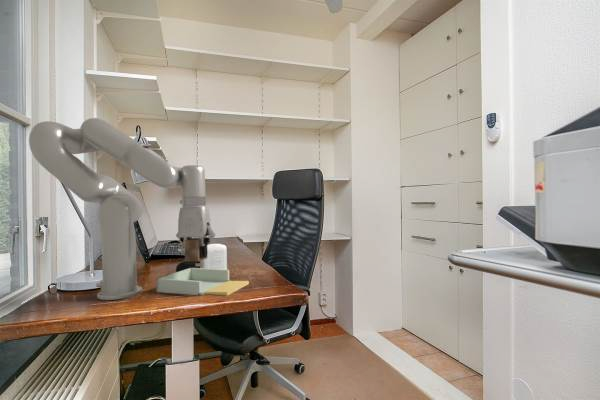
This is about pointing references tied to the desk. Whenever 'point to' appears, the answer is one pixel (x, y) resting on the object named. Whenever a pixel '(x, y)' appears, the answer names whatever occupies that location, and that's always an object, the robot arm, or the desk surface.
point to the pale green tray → (192, 281)
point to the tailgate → (227, 288)
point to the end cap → (186, 265)
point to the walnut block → (193, 249)
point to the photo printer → (215, 257)
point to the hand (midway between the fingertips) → (196, 256)
